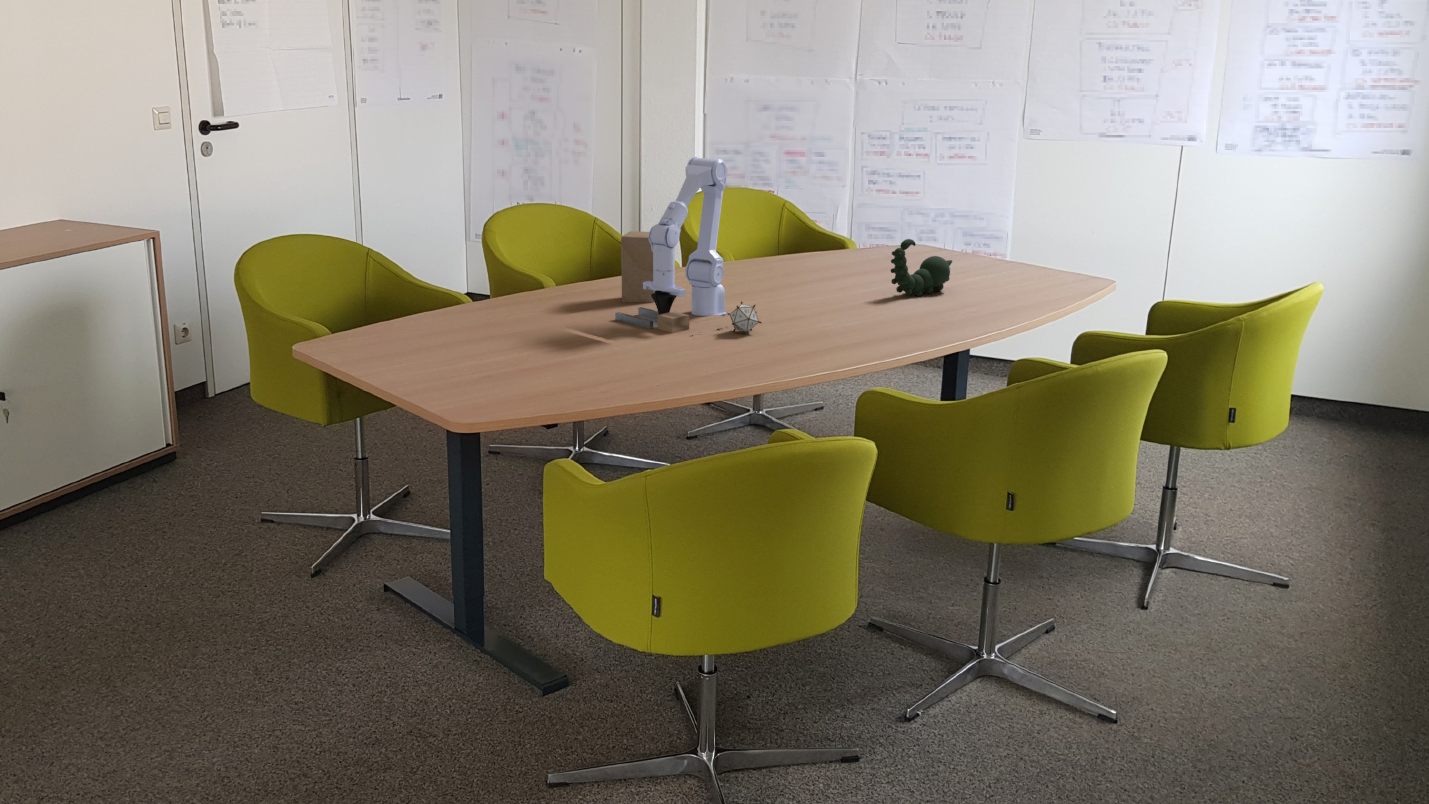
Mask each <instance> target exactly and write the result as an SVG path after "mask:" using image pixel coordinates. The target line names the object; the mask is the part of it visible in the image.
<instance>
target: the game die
mask: <svg viewBox="0 0 1429 804" xmlns="http://www.w3.org/2000/svg"><path fill="white" fill-rule="evenodd" d="M743 303H744V302H743V301H740V305H736V307H735V309H734V310H733V311H732V312H726V313H727V314H726V315H728V316H729V317H730V320H731V325H732V326H733V329H732V332H734V333H735V332H736V331H739V332H740V331H741V332H744V333H745V335H746V336H748V334H749V333H748V332H749V331H753V328H754V327H755V326H756V325H758V324H762V323H763V322H762V321H760V320H759V318H758V315H757V311H756V309H755V308H756V305H757V304H753V305H752V306H751V305H748V304H743Z"/></svg>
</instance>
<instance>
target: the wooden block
mask: <svg viewBox="0 0 1429 804" xmlns="http://www.w3.org/2000/svg"><path fill="white" fill-rule="evenodd" d="M649 233H650V231H641V230H640V231H638V230H630V231H628V232H627V233H624V234H623V235H621V237H620V249H621V250H620V252H621V253H620V257H621V258H620V259H621V260H620V262H621V269H620V270H621V272H620V273H621V303H622V304H624V303H625V304H627V303H630V302H637V303H652V304H655V302H654V300H653V298H652V297H651V294H653V293H654V292H655V291H654V290H650V289H643V282H646V281H651V282H653V252H652V250H651V244H650V242H649V239H648V235H649Z"/></svg>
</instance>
